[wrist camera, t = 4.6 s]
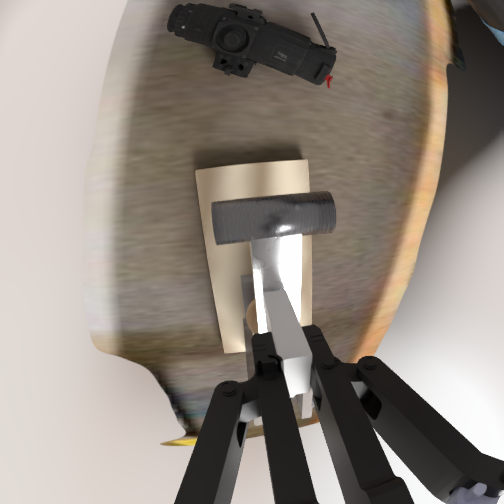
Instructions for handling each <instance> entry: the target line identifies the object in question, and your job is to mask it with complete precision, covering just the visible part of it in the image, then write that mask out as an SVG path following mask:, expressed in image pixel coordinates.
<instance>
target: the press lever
mask: <svg viewBox="0 0 504 504" xmlns="http://www.w3.org/2000/svg"><path fill="white" fill-rule="evenodd" d="M211 212H212V224H213V231H214V237H215V242H216V245H225V244H234V243H243V242H250V252H251V263H252V273H253V284H254V295H255V305H256V316H257V326H258V333H264V332H267V328H266V320H265V308H264V296H263V292H269V291H277V290H284V289H286V291H287V293H288V296H289V298H290V301H291V303H292V306H293V308H294V310H295V313H296V315H297V318H298V320H299V317H300V292H301V250H302V236H307V235H316V234H326V233H332V232H333V231H334V229H335V225H336V209H335V204H334V200H333V197H332V195H331V194H330V192H328V191H322V192H308V193H295V194H283V195H272V196H261V197H251V198H242V199H233V200H224V201H216V202H212V203H211ZM290 397H294V395H290Z"/></svg>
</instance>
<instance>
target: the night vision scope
mask: <svg viewBox="0 0 504 504" xmlns="http://www.w3.org/2000/svg"><path fill="white" fill-rule="evenodd" d="M229 7H230V8H232V9H235V10H237V11H235V10H231V9H227V8H223V7H222V8H219V7H215V6H210V5H206V4H198V5H197V4H191V3H189V4H187V5H185V6H183V5H181V4H179V5H177V6H176V7H175V8H174V9H173V11H172V13H171V14H170V16H169V20H168V23H167V29H168V31H169V32H172V31H173V32H175V35H176V36H179V37H183V38H185V40H188V41H192V42H196V43H200V44H204V45H206V46H208V47H211V48H213V49H215V52H217V54H216V57H215V60H214V63H213V67H214V68H216V69H219V70H222V71H225V74H227V75H230V74H234V75H237V76H240V77H245V78H247V77H248V74H249V73H250V71H251V69H252V66H253V64H255V65H256V63H257V62H258V63H261V64H263V65H266V66H268V67H271V68H274V69H276V70H278V71H281V72H283V73H286V74H288V75H291V76H293V75H294V74H295V75H297V76H299V77H301V78H303V79H305V80H307V81H309V82H311V83H314V84H316V85H321V84H322V83H323V82H324V81H325V80H327V86H328V88H330V81H331V80H332V78H333V77H332V76H330V75H329V74H330V72H331V70H332V68H333V66H334V63H335V60H336V55H335V54H336V53H337V51H336V48H334V47H330V46H329V44H328V41H327V39H326V37H325V35H324V32H323V30H322V28H321V26H320V24H319V22H318V20H317V18H316V16H315V14H314V13H311V16H312V18H313V20H314V22H315V24H316V26H317V28H318V31H319V33H320V35H321V37H322V39H323V41H324V44H325V46H323V45H318V44H315V43H313V42H311V39H310V38H309V37H306V36H304V35H302V34H300V33H297V32H295V31H292V30H290V29H287V28H285V27H282V26H280V25H277V24H274V23H272V22H267V21H266V19H265V18H264V17H263V16H261V14H262V11H259V10H256V9H254V10H250V9H247V7H246V6H242V5H238V4H233V3H232V4H230V5H229Z"/></svg>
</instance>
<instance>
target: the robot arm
mask: <svg viewBox="0 0 504 504" xmlns="http://www.w3.org/2000/svg"><path fill="white" fill-rule="evenodd" d="M467 1H468V2H469V3H470V5H471V6H472V7H473V8H474V10H475V11H476V12H477V13H478V14H479V16H480V17H481V20H482V21H483V23H484V24H485V25H487V26H488V27H489V28H490V30H491V31H492V32H493V34H494V35H495V37H496V38H497V39H498V41H499V42H500V43H501V44H503V45H504V0H467ZM263 296H264V308H265V320H266V328H267V332H264V333H256V334H254V335H253V337H252V339H251V343H252V351H253V359H254V367H255V373H254V375H253V377H252V378H251V379H249V380H248V381H246V382H243V383H241V384H240V383H238V382H236V381H232V380H231V381H224V382H221V383H220V384H219V385H217V387H216V388H215V390H214V393H213V396H212V399H211V402H210V405H209V408H208V410H207V413H206V416H205V419H204V422H203V425H202V427H201V430H200V433H199V436H198V439H197V441H196V444H195V447H194V450H193V453H192V455H191V458H190V461H189V464H188V466H187V469H186V472H185V475H184V478H183V480H182V483H181V486H180V489H179V491H178V494H177V497H176V500H175V503H174V504H230V503H231V499H232V495H233V491H234V487H235V483H236V478H237V474H238V470H239V465H240V461H241V457H242V452H243V448H244V443H245V439H246V434H247V429H248V425H249V421H251V420H253V419H256V418H258V417H262V424H263V431H264V437H265V444H266V450H267V457H268V463H269V470H270V476H271V482H272V488H273V495H274V501H275V504H319V503H318V501H317V499H316V495H315V491H314V488H313V484H312V480H311V476H310V472H309V468H308V465H307V461H306V456H305V453H304V449H303V445H302V441H301V437H300V433H299V429H298V425H297V421H296V418H295V414H294V410H293V406H292V402H291V398H290V395H296V394H302V393H307V392H310V387H311V389H312V391H313V396H312V408H314V405H315V408H316V412H317V415H318V418H319V421H320V424H321V427H322V430H323V433H324V436H325V439H326V443H327V446H328V449H329V452H330V455H331V458H332V461H333V465H334V468H335V471H336V474H337V478H338V480H339V484H340V487H341V490H342V493H343V496H344V500H345V504H414V502H413V499H412V498H411V495H410V492H409V490H408V488H407V486H406V484H405V482H404V480H403V479H402V478H401V477H397V476H395V475H394V473H393V471H392V469H391V467H390V465H389V462H388V460H387V457H386V455H385V453H384V451H383V449H382V447H381V444H380V442H379V440H378V438H377V436H376V433H375V431H374V429H375V430H376V432H377V433H378V434H379V435H380V436H381V437H382V438H383V440H384V441H385V442H386V443H387V444H388V445H389V447H390V448H391V449H392V450H393V451H394V452H395V453H396V455H397V456H398V457H399V458H400V459H401V460H402V461H403V462H404V464H405V465H406V466H407V467H408V468H409V469H410V470H411V472H412V473H413V474H414V475H415V476H416V477H417V478H418V479H419V480H420V482H421V483H422V484H423V485H424V486H425V487H426V488H427V489H428V490H429V491H430V492H431V493H432V494H433V495H434V496H435V497H436V498H438V499H440V500H441V501H442V502H444V503H446V504H497V502H498V499H499V497H500V496H501V495H502V494H504V461H502V460H499V459H496V458H493V457H491V456H488V455H486V454H483V453H481V452H480V451H479V450H478V449H477V448H476V447H475V446H474V445H473V444H472V443H470V442H469V441H468V440H467V439H466V438H465V437H464V436H463V435H462V434H460V432H458V430H456V429H455V428H454V427H453V426H452V425H451V424H450V423H449V422H448V421H447V420H446V419H445V418H443V417H442V416H441V415H440V414H439V413H438V412H437V411H436V410H435V409H434V408H433V407H431V406H430V405H429V404H428V403H427V402H426V401H425V400H424V399H423V398H422V397H420V395H418V394H417V393H416V392H415V391H414V390H413V389H412V388H411V387H410V386H409V385H408V384H406V383H405V382H404V381H403V380H402V379H401V378H400V377H399V376H398V375H397V374H395V373H394V372H393V371H392V370H391V369H390V368H389V367H388V366H387V365H386V364H385V363H383V362H382V361H381V360H380V359H379V358H377V357H374V356H365V357H362V358H361V359H359V361H358V363H343V362H341V361H340V360H339V359H338V358H336V357H334V356H333V354H332V352H331V350H330V348H329V346H328V344H327V342H326V340H325V338H324V336H323V334H322V332H321V330H320V328H318V327H317V326H316V325H314V324H313V325H307V326H301V325H300V323H299V320H298V318H297V315H296V313H295V310H294V308H293V306H292V303H291V301H290V298H289V296H288V293H287V291H286V289H284V290H277V291H269V292H263ZM373 428H374V429H373Z"/></svg>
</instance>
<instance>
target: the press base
mask: <svg viewBox="0 0 504 504" xmlns="http://www.w3.org/2000/svg"><path fill="white" fill-rule="evenodd" d="M195 174H196V182H197V190H198V197H199V205H200V212H201V219H202V226H203V233H204V239H205V246H206V252H207V259H208V265H209V271H210V277H211V283H212V288H213V294H214V300H215V305H216V311H217V316H218V321H219V327H220V332H221V337H222V342H223V347H224V352H225V353H234V352H244V351H246V360H247V371H248V380H249V379H251V378H252V377H253V375H254V373H255V367H254V359H253V351H252V343H251V339H252V337H253V335H254V334H256V333H258V326H257V316H256V305H255V295H254V284H253V273H252V263H251V252H250V242H243V243H234V244H225V245H216V242H215V237H214V231H213V224H212V212H211V203H212V202H216V201H224V200H233V199H242V198H251V197H261V196H272V195H283V194H295V193H308V192H310V189H309V172H308V160H304V159H300V160H284V161H270V162H258V163H247V164H237V165H228V166H220V167H212V168H204V169H197V170H195ZM299 323H300V325H301V326H307V325H312V240H311V235H307V236H302V250H301V292H300V317H299ZM239 383H240V384H241V383H243V382H239ZM312 396H313V391H312V389H311V387H310V392H307V393H302V394H296V399H297V403H298V407H299V410H300V414H301V418H302V419H303V418H308V417H311V414H312ZM254 424H255V425H263V424H262V417H258V418H256V419H254Z"/></svg>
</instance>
